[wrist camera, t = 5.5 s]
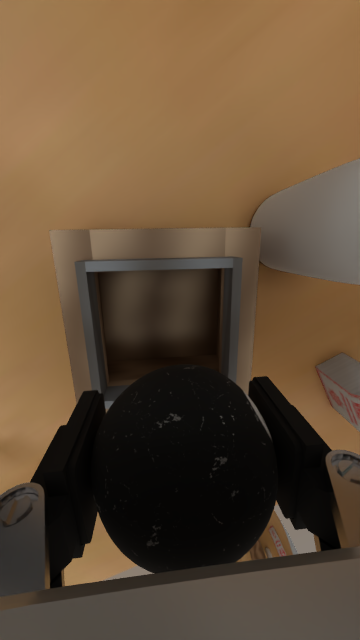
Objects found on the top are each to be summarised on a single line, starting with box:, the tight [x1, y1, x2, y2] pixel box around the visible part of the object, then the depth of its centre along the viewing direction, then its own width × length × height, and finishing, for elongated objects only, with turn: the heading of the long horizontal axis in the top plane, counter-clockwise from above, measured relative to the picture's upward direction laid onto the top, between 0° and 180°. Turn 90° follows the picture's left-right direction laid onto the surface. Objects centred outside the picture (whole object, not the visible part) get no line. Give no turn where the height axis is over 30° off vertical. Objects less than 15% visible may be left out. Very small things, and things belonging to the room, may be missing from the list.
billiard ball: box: [91, 364, 278, 573], centre depth 9 cm, size 6×6×6 cm
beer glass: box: [237, 510, 298, 562], centre depth 27 cm, size 7×7×15 cm
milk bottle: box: [250, 159, 360, 285], centre depth 17 cm, size 8×8×20 cm
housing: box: [49, 227, 262, 413], centre depth 22 cm, size 14×14×11 cm
